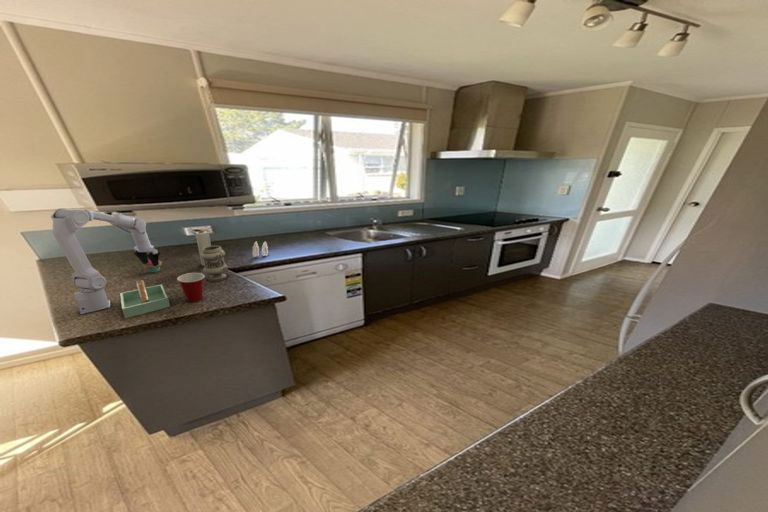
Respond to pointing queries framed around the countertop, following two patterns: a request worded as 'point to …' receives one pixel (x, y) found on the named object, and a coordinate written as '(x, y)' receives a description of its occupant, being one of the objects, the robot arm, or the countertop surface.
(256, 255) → the shaker set
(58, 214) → the robot arm
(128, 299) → the bin
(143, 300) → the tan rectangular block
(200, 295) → the plastic cup
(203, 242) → the paper towel roll
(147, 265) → the cupcake
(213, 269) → the apothecary jar
